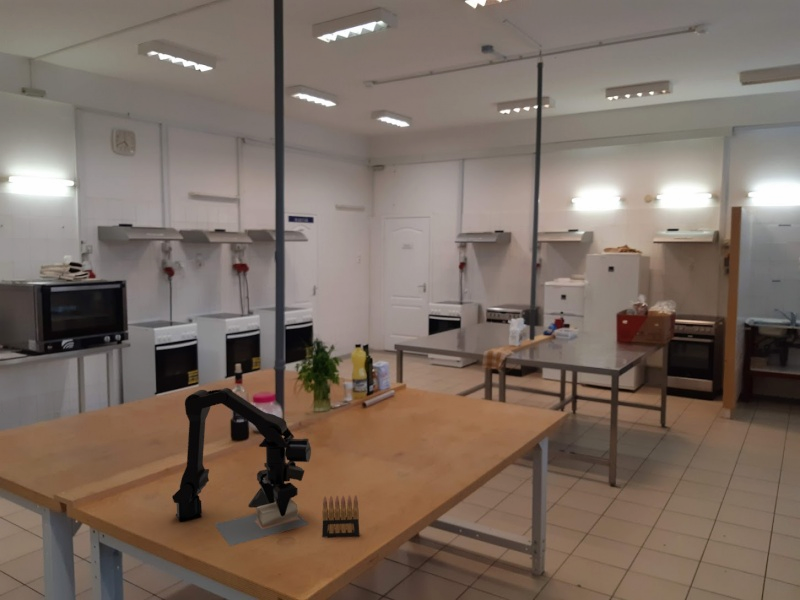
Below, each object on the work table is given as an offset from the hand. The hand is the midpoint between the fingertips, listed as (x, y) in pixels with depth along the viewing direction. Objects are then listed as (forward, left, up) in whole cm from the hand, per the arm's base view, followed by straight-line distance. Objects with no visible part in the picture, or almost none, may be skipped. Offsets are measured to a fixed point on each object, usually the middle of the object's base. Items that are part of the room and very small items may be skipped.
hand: (277, 510), depth 185 cm
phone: (+3, +18, -4) cm, 19 cm away
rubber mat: (-5, 0, -3) cm, 6 cm away
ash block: (0, 0, -3) cm, 3 cm away
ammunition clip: (+12, -19, -4) cm, 23 cm away
